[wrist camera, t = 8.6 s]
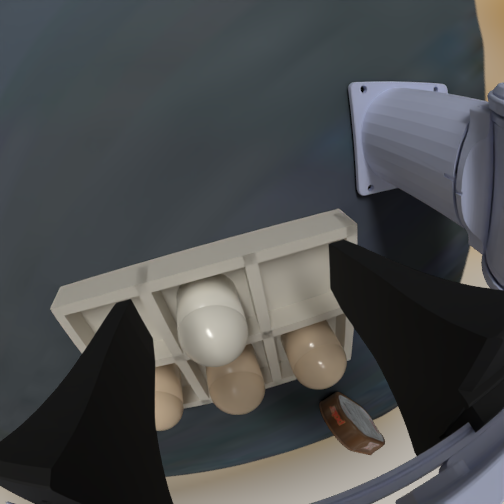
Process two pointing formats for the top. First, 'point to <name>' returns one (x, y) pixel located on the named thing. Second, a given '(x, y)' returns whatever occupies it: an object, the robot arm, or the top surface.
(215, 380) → the brown egg middle
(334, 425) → the tin
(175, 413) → the brown egg
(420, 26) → the top surface
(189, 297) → the cream egg
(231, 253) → the egg carton
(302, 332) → the brown egg
